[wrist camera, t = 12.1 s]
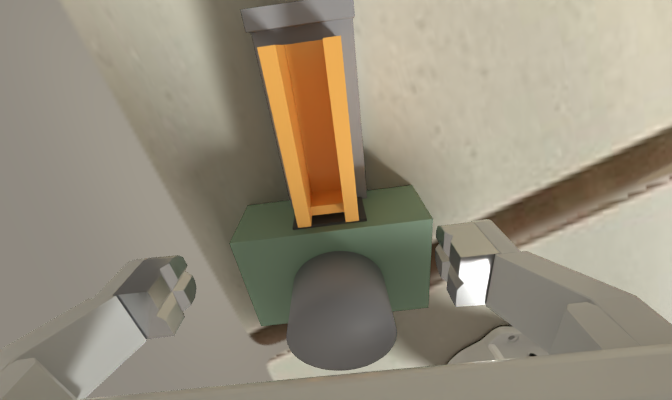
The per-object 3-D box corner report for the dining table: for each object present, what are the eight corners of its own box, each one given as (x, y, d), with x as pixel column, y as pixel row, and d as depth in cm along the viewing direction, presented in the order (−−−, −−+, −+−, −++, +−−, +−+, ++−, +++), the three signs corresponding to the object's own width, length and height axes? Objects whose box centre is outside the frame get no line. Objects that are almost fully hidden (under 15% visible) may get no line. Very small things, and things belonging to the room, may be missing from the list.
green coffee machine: (413, -10, 20) (497, -62, 10) (411, 264, 32) (448, 359, 22) (189, 23, 20) (65, 3, 11) (271, 280, 32) (248, 380, 23)
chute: (337, 37, 20) (340, 35, 15) (353, 190, 25) (359, 220, 21) (272, 46, 20) (257, 47, 15) (302, 196, 26) (298, 228, 21)
